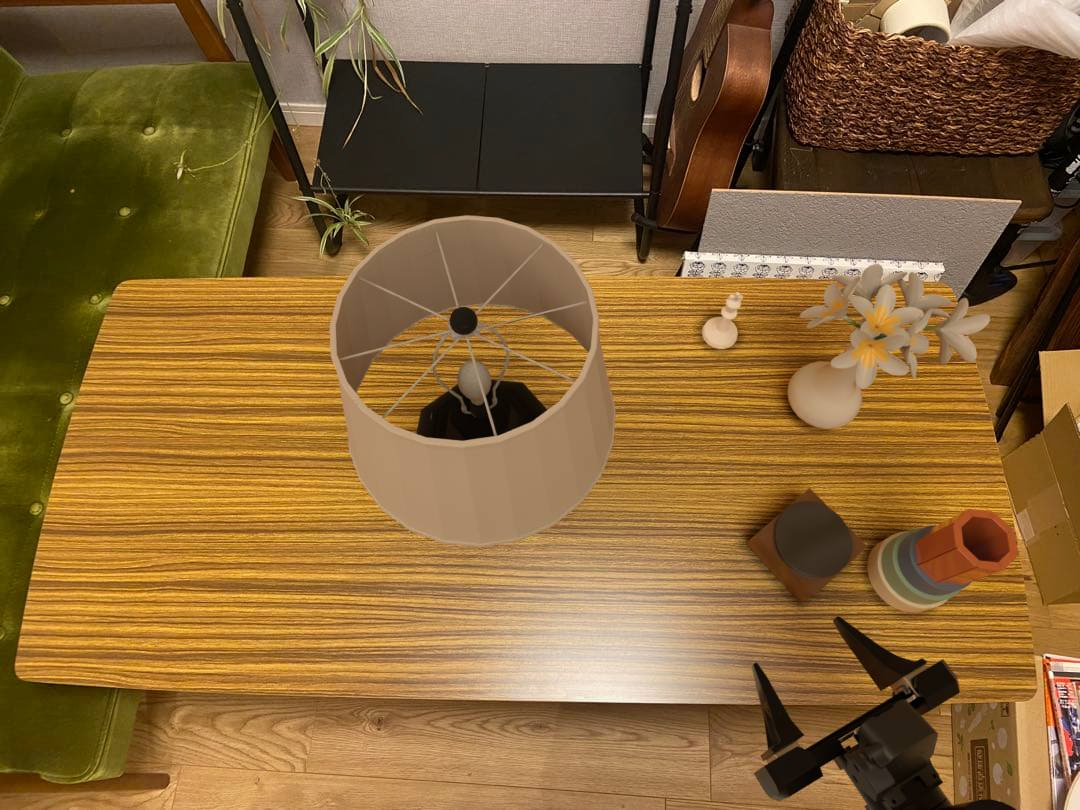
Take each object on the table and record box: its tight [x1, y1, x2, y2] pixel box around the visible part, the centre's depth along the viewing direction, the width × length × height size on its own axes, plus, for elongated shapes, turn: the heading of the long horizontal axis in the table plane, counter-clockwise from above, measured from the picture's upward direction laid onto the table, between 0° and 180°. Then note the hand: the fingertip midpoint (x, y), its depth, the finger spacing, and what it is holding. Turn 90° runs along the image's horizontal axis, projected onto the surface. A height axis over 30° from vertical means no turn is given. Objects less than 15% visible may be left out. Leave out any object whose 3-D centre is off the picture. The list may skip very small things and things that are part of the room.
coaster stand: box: [745, 487, 868, 604], centre depth 84 cm, size 9×9×6 cm
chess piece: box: [701, 291, 744, 350], centre depth 95 cm, size 5×5×10 cm
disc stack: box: [866, 524, 973, 613], centre depth 81 cm, size 9×9×9 cm
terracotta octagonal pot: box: [915, 508, 1019, 586], centre depth 73 cm, size 6×6×8 cm
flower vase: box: [786, 263, 991, 430], centre depth 83 cm, size 13×18×25 cm
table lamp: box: [329, 214, 617, 548], centre depth 72 cm, size 27×27×40 cm
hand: (795, 640), depth 66 cm, fingers open, 9 cm apart
